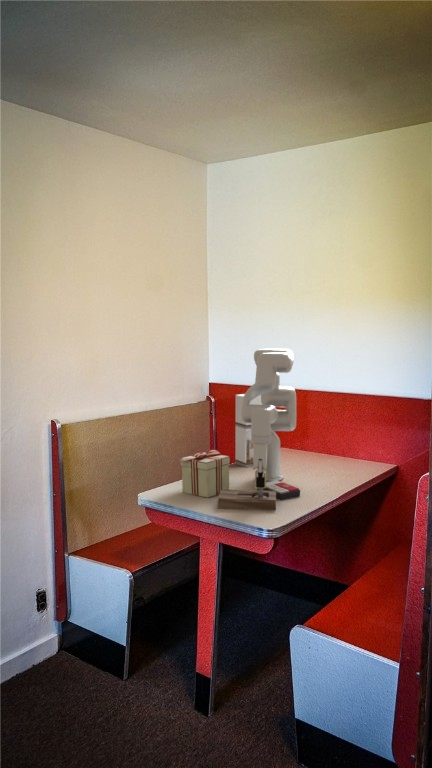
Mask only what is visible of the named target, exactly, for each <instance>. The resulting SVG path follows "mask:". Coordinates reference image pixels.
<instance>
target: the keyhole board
mask: <svg viewBox="0 0 432 768" xmlns="http://www.w3.org/2000/svg"><path fill="white" fill-rule="evenodd" d="M218 495H219V496H218V499H217V508H218V509H219V510H222V509H223V510H246V511H249V510H250V511H251V510H252V511H277V499H276V491H263V495H264V496H267V497H254V496H257V495H258V490H257V489H229V490H222V489H221V492H220V494H218Z"/></svg>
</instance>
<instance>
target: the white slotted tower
mask: <svg viewBox="0 0 432 768" xmlns="http://www.w3.org/2000/svg"><path fill="white" fill-rule="evenodd" d="M244 395H245V393H241V394H235V462H234V463H235V464H236V465H239V466H242V467H244V468H250V467H251V468H253V449H254V444H252V443H251V423H246V422H244V421H243V420H242V417H241V410H242V401H243V397H244ZM250 404H254V405H262V403H261V395H260V396H258V397H256V398H254V399H253V400H252V401H251V402H250Z"/></svg>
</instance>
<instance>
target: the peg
mask: <svg viewBox="0 0 432 768" xmlns="http://www.w3.org/2000/svg"><path fill="white" fill-rule="evenodd" d="M258 472H259V471H258ZM262 472H263V471H262ZM254 475H255V476H254V479H255V481H254V483H255V484H254V488H255V489H257V487H256V477H257V470H255V473H254ZM264 477H265V487H264V488H266V482H267V481H266V471H264ZM254 497H267V496H264V495H263V488H258V495H257V496H254Z"/></svg>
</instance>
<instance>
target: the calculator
mask: <svg viewBox="0 0 432 768" xmlns="http://www.w3.org/2000/svg"><path fill="white" fill-rule="evenodd" d="M256 490H258V488H256ZM263 491H276V500H279V501H284V500H287V499H293V498H296V497H300V496H301V490H300V489H299V488H298V487H297V486H294V485H291V484H288V483H286V482H284V481H283V482H282V481H281V480H279V481H277V480H276V481H266V488H263Z"/></svg>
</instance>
